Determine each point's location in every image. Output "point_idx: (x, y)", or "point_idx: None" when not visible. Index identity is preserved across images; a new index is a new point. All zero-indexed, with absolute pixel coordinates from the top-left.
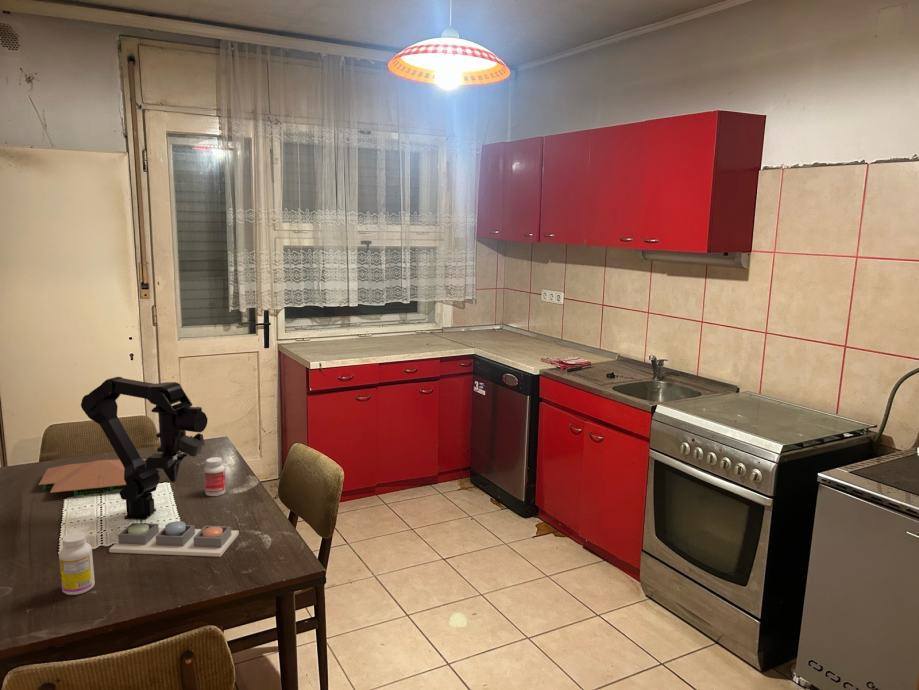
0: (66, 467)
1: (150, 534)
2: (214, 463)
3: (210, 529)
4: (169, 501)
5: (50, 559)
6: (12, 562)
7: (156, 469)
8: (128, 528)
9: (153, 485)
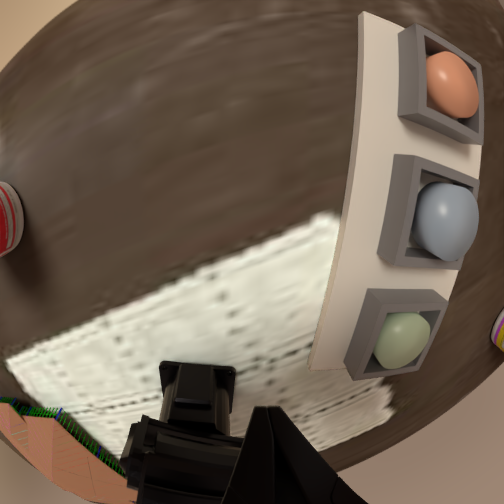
0: (91, 499)
1: (420, 297)
2: None
3: (452, 90)
4: (86, 341)
5: (404, 417)
6: (392, 444)
7: (144, 498)
8: (399, 367)
9: (191, 447)
